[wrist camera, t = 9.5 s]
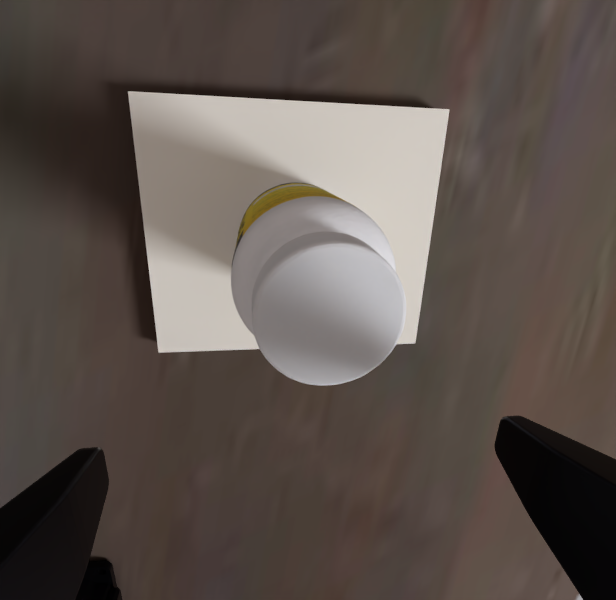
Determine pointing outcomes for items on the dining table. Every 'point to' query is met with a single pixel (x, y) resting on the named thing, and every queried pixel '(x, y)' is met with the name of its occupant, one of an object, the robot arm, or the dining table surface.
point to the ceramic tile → (262, 176)
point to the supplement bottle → (316, 285)
